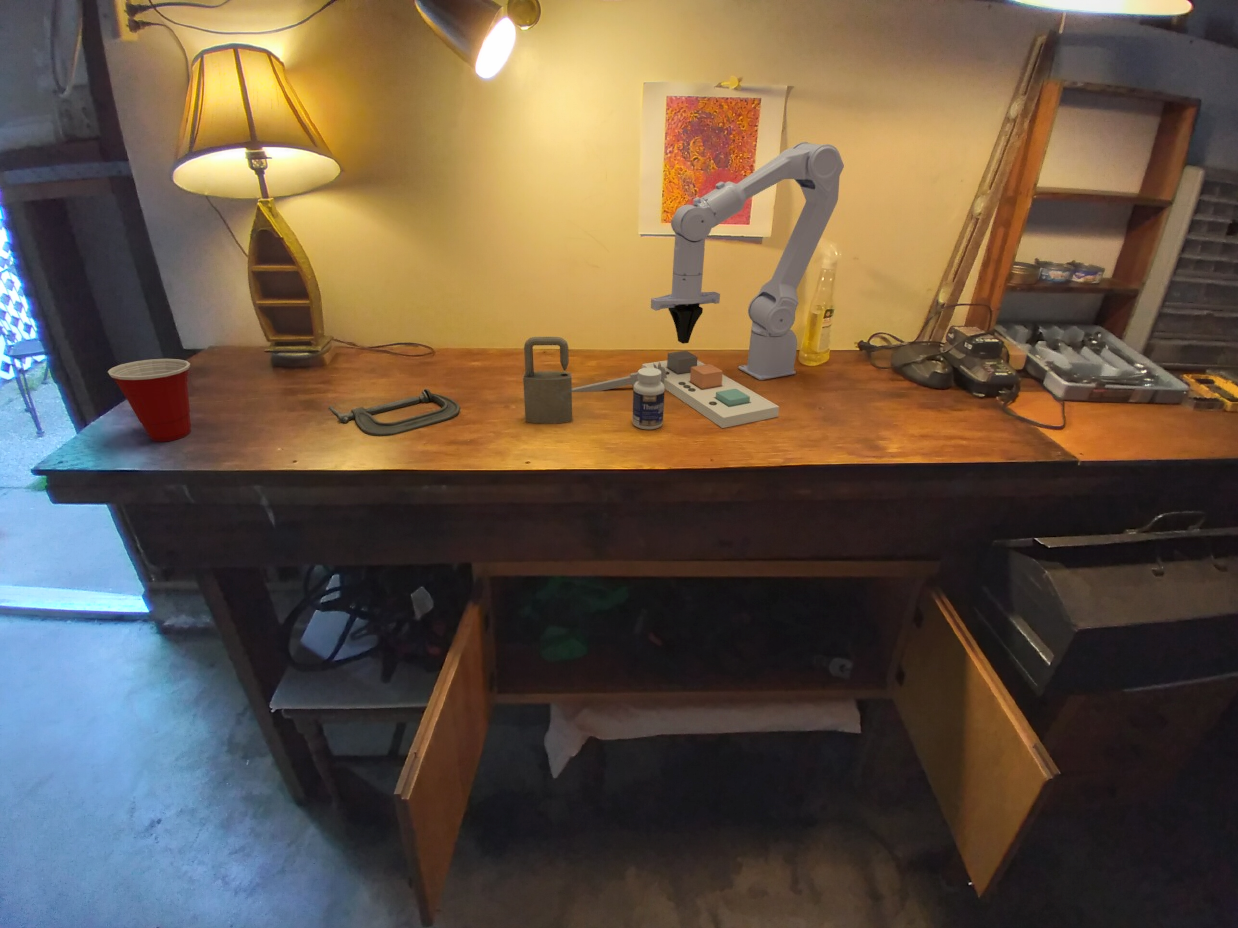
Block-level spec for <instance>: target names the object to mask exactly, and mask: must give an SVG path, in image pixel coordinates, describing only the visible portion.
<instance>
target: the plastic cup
mask: <svg viewBox="0 0 1238 928" xmlns="http://www.w3.org/2000/svg"><path fill="white" fill-rule="evenodd" d="M190 367H191V363H190V362H189V361H187V360H184V359H178V358H177V359H176V358H157V359H156V358H155V359H152V358H151V359H143V360H137V361H130V362H127V363H121V364H119V365H116V366H114V367H111V368H110V369H109V370H108V371H107V373H108V374H109V376H110V378H112V379H113V380H114V381H115V382H116V384H117V385H118V387H119V389H120V390H121V393H123V395H124V396H125V398H126V400H127V402H128V403H129V405H130V407H131V409H132V411H133V412H134V413H135V414H134V415H135V416H136V417H137V419H138V421H139V423H141V424H142V426H143V429H144V430H145V432H146V433H147V435H148V437H149V438H150V439H151V440H152V441H154V442H163V443H164V442H171V441H175V440H180V439H182V438H184V437H186V436H188V435H189V434H190V433H191V431H192V429H191V428H192V423H191V415H190V412H191V409H190V400H189V399H190V398H189V389H188V387H189V386H188V375H189V373H188V372H189V369H190Z"/></svg>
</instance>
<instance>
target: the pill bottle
mask: <svg viewBox="0 0 1238 928" xmlns="http://www.w3.org/2000/svg"><path fill="white" fill-rule="evenodd" d="M637 372H638V380H639V381H637V382H636V383H635V384H634V388H633V387H632V388H633V389H632V391H633V392H632V424H633V425H634V426H635V427H636V428H638V429H641V430H655V429H658V428H660V427H662V426H663V424H664V410H665V408H664V407H665V394H666V389H665V386H664V384H663V383H662V382H660V381H661V371H660V370H659V369H656V368H642V367H641V368H640V369H639V370H637Z"/></svg>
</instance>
